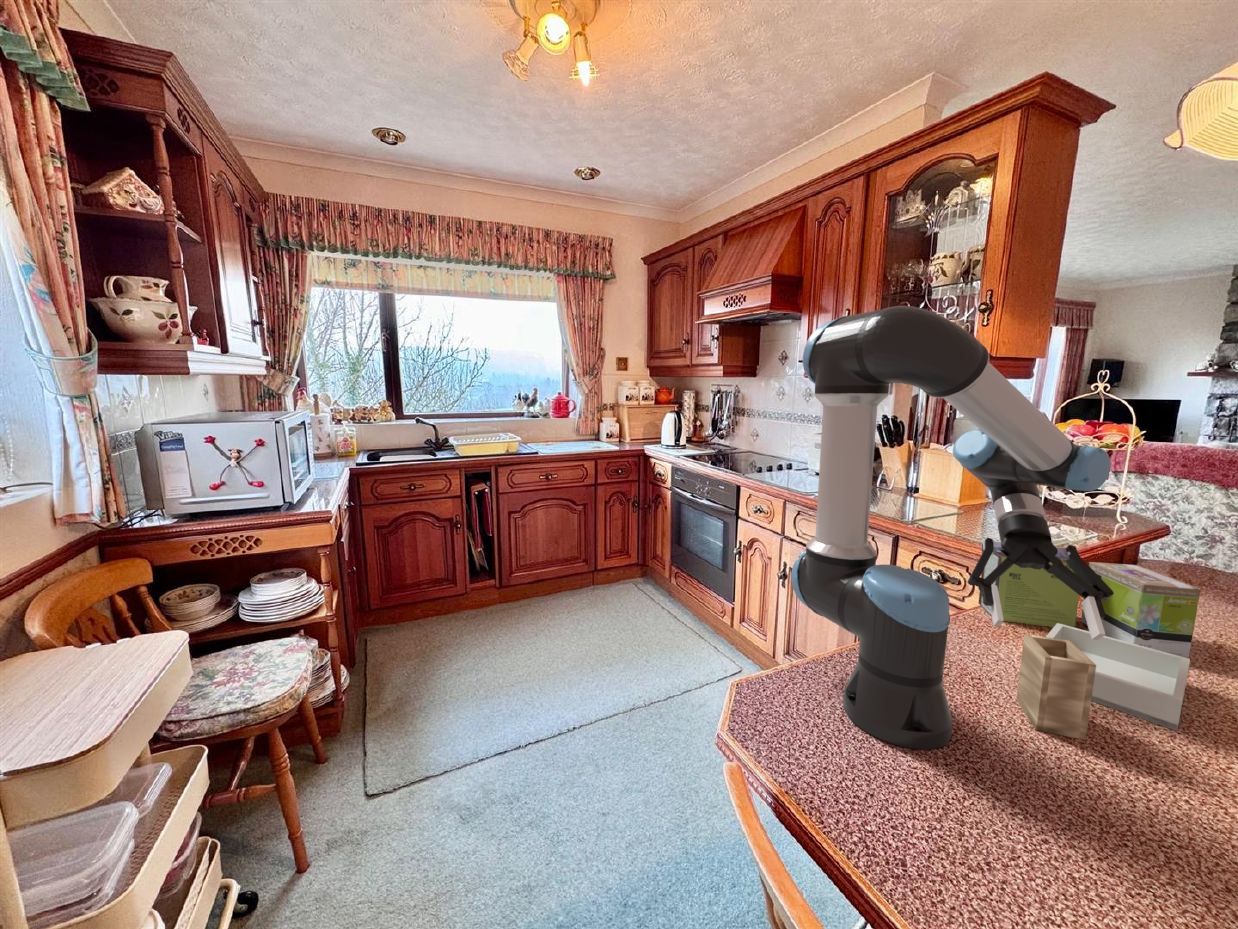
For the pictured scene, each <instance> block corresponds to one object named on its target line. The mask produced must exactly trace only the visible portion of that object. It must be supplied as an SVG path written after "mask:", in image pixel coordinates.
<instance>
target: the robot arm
mask: <svg viewBox="0 0 1238 929" xmlns="http://www.w3.org/2000/svg"><path fill="white" fill-rule="evenodd" d="M802 367H803V370H804V374H806V375H807V378H808V380H809V381H810V382H811V383H813V384H814V397H815V398H816V399H817V400H818V401H819V402H820V403H821V405H822V417H821V418H822V420H821V421H822V422H821V435H820V436H821V437H820V452H819V453H820V455H819V471H818V472H819V474H818V487H817V488H818V489H817V491H818V492H817V504H816V506H817V507H816V522H815V535H814V536H813V537H812V538H811V539H810V540H808V541H807V542H806V544H805V546H806V548H805V549H804V550H803V551H802V552H800V553H799V555H798V556H797V557H798V559H797V560H794V563H793V566H792V568H791V574H790V575H791V576H790V577H791V579H790V580H791V586H792V589H793V591H794V594H795V595H796V597H797V599H798V600H799V601H800V602H801V604H803V605H805V606H806V607H807V608H808V609H810V610H811V611H812V612H813V613H815V615H818V616H821V617H823V618H825V619H826V620H829V621H830V622H832V623H834V624H836V625H837V626H839V627H840V628H843V629H844V630H846V631H848V632H849V633H851V634H852V635H854V636H856V637H858V638H859V643H858V644H859V645H858V659H857V663H856V665H855V667H854V669H853V672H852V673H851V675H850V677H849V680H848V682H847V684H846V685H845V688H844V690H843V700H842V701H843V702H842V705H843V709H844V712H845V713H846V716H848V719H850V720H851V722H853V723H854V724H855V725H856V726H858V727H859V728H860V729H862V730H863V732H866V733H867V734H870V735H871V736H873V737H875V738H877V739H879V740H882V741H884V742H887V743H889V744H892V745H896V746H898V747H903V748H908V749H916V750H933V749H937V748H941V747H943V746H945V745H947V744H948V743H949V742H950V740H951V738H952V732H953V722H954V721H953V717H952V713H951V708H950V707H949V706H950V705H949V703H948V699H947V695H946V692H945V687H944V685H943V684H944V683H943V680H944V670H945V661H946V652H947V651H946V650H947V643H948V642H947V641H948V633H949V632H948V631H949V626H950V623H951V614H950V598H949V595H948V592H947V590H946V589H945V588H944V586H943V585H942V584H940V583H939V582H938V581H937V580H935V579H934V578H933V577H931V576H929V575H926V574H924V573H922V572H921V571H917V570H914V569H912V568H909V567H908V568H903V567H902V566H899V565H894V564H876V563H877V550H876V549H875V548H874V546H872V545H871V544H870V542H869V528H870V515H871V514H870V512H871V500H872V487H873V485H872V484H873V472H874V471H873V470H874V459H875V447H876V446H875V445H876V444H875V443H876V429H877V419H878V418H877V416H878V415H877V414H878V406H879V405H880V404H881V403H882V402H883V401H884V400H885V399H887V398H888V397H889V393H890V392H889V391H890V384H902V385H903V384H904V385H909V386H912V387H915V388H918V389H920V390H921V391H922V392H923V393H925V394H926V395H928V396H929V397H932V398H936V399H943V400H944V401H946V402H947V403H948V404H949V405H950V406H952V407H953V408H954V409H955V410H956V411H958V413H960V414H961V415H962V416H963V417H965V419H967V420H968V421H969V422H970V423H971V424H972V425H974V426H975V427H977V429H972V430H969V431H967V432H964V433H963V434H961V435H960V436H959V437H958V438H957V439H956V441H955V443H954V444H953V446H952V454H953V456H954V458H955V459H956V460H957V461H958V463H959V464H960V465H961V467H962V468H964V469H965V470H966V471H967V472H969V473H970V474H972V475H973V476H974V477H975V478H976V479H978V481H979V482H981V483H982V485H984V486H985V487H987V489H988V490H989V492H990V495H991V500H992V504H993V509H994V510H993V511H994V515H995V518H996V524H997V530H998V534H999V538H1000V539H999V540H1000V542H999V541H994V540H993V538H992V537H987V538H985V539H984V542H983V543H982V545H981V555H980V557H979V559H978V561H977V563H976V565H975V566H974V568H973V570H972V572H971V574H970V576H969V578H968V579H967V584H968V585H969V586H974V587H977V588H978V590H979V592H980V591H981V592H982V598H983V603H984V604H985V605H987V606H990V609H991V615H992V617H991V620H992V624H993V626H994V627H999V626H1000V625H1001V624H1002V623H1003V622H1005V621H1004V620H1003V614H1002V609H1001V604H1000V598H999V593H998V588H997V586H995V585H992V584H993V583H994V582H995V581H996V580H997V579H998V578H999V577H1000V576H1001V575H1002V574H1003V573H1005V572H1006V571H1007V570H1008V569H1009V568H1010V567H1011V566H1012V565H1013V564H1016V565H1017V566H1019V567H1020V568H1033V569H1039V570H1040V569H1041V568H1043V569H1044V570H1046V571H1047V572H1048V573H1050V574H1053V575H1055V576H1056V577H1057V578H1058V579H1060V580H1061V581H1062V582H1063V583H1065V584H1066V585H1067V586H1068V587H1070V588H1071V589H1072V590H1074V591H1075V592H1076V593H1077V594H1079V597H1081V598H1082V599H1083V600H1082V601H1081V602H1080V603H1081V604H1080V605H1081V607H1082V610H1083V611H1084V614H1085V618H1086V621H1087V625H1086V626H1087V627H1088V631H1089V632H1090V635H1091V638H1092V640H1099V639H1100V638H1101V637H1103V636H1104V635H1106V634H1105V631H1104V628H1103V624H1102V621H1101V620H1102V619H1103V618H1104V617H1105V615H1106V614H1105V611H1104V608H1103V605H1102V601H1106V600H1107V599H1108V598H1110V597H1111V596H1112V595H1113V594H1114V592H1113V591H1112V590H1111V589H1110V588H1109V587H1108V585H1107V584H1106V583H1105V582H1104V581H1103V580H1102V579H1101V578H1100V577H1099V576H1098V575H1097V574H1096V573H1095V572H1094V571H1093V570H1092V569H1091V568H1090V566H1089V563H1087V562H1086V561H1085V560H1084V559H1083V558H1082V557H1081V556H1080V553H1079V551H1078V548H1076V546H1075V545H1073V544H1070V545H1068V546H1066V547H1056V546H1055V544H1054V543H1053V540H1052V534H1051V530H1050V528H1049V524H1048V521H1047V515H1046V512H1045V509H1044V506H1043V502H1042V500H1041V495H1040V492H1039V488H1038V486H1045V487H1050V488H1058V489H1064V490H1066V491H1071V490H1074V491H1083V492H1092V491H1095V490H1098V489H1100V488H1101V487H1102V486H1103V485H1104V484H1105V482H1106V480H1107V478H1108V477H1109V474H1110V470H1111V460H1110V456H1109V454H1108V452H1107V451H1106V450H1104V449H1103V448H1102V447H1101V448H1100V447H1097V446H1090V445H1087V444H1083V445H1079V444H1075V443H1074V442H1073V441H1072V440H1071V439H1070V438H1069V437H1068V436H1067V435H1066V434H1065V433H1063V432H1062V430H1061V429H1060V428H1058V427H1057V426H1056V425H1055V424H1054V423H1053V422H1052V421H1051V420H1050V419H1049V417H1047V416H1046V415H1045V414H1044V413H1042V411H1041V410H1039V409H1038V408H1037V406H1036V405H1034V404H1033V403H1032V402H1031V401H1030V400H1029V399H1028V398H1027V397H1026V396H1025V395H1024V394H1023V393H1022V392H1021V391H1020V390H1018V388H1017V387H1016V386H1015V385H1014V384H1012V383H1011V382H1010V381H1009V379H1007V378H1006V377H1005V376H1004V375H1003V374H1002V373H1001V372H1000V371H999V370H998V369H997V368H995V366H994V365H993V364H992V363H990V352H989V350H988V349H987V347H985V345H984V344H983V343H982V342H981V341H980V340H978V339H977V338H976V337H974V335H972V334H971V333H970V331H967V330H966V329H965V328H963V327H962V326H960V325H958V324H957V323H955V322H954V321H952V320H950V319H948V318H946V317H944V316H943V315H940V314H938V313H936V312H934V311H931V310H927V309H924V308H921V307H916V306H912V305H909V306H908V305H897V306H890V307H889V306H888V307H885V308H883V309H878V310H871V311H866V312H862V313H861V312H860V313H857V314H856V313H855V314H851V315H850V314H849V315H843V316H840V317H837V318H835V319H833V320H830V321H827V322H825V323H822V324H821V325H819V326H818V327H817V328H816V329H815V330H814V331H813V332H812V333H811V334H810V336H809V337H808V339H807V341H806V343H805V346H804V348H803V353H802ZM998 549H1000V551H1001V552H1002V553H1003V554H1004V555H1005V556H1006V557H1007V558H1006V559H1005V560H1004V561H1003V562H1002V563H1001V564H1000V565H999V566H998V567H997V568H995V569H994V570H993V571H992V572H991V573H990V574H989V575H988V576H987V577H986V578H985V579H983V578H981V575H982V572H983V570H984V568H985V566H986V564H987V562H988V560H989V558H990V556H991V554H992V553H995V552H996V551H997V550H998ZM1055 555H1059V556H1060V557H1061V559H1062V560H1065V561H1066V563H1067V565H1068V566H1069V567H1070V568H1071V569H1072V570H1073V571H1074V572H1075V573H1076V574H1075V573H1074V572H1072V571H1071V570H1070V569H1069V568H1067V567H1066V566H1065V565H1063V562H1062V561H1061V560H1060V559H1058V558H1057V557H1056V556H1055ZM1050 562H1051V563H1052V566H1051V565H1050V564H1049V563H1050ZM991 585H992V586H991ZM1084 599H1085V600H1084Z"/></svg>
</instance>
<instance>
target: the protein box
mask: <svg viewBox="0 0 1238 929" xmlns="http://www.w3.org/2000/svg"><path fill="white" fill-rule="evenodd" d="M1055 556H1056V557H1057V558H1058V559H1060V560H1061V561H1062V562H1063V565H1065V566H1066V567H1067V568H1069V569H1070V570H1071V571H1072V572H1074V571H1073V570H1072V569H1071V568H1070V567H1069V566H1068V565H1067V563H1066V561H1065V560H1062V559H1061V557H1060V556H1059V555H1055ZM1006 558H1007V557H1006V556H1005V555H1004V554H1003V553H1002V552H1001V551H1000V549H998V550H997V551H996V552H995V553H992V554H991V556H990V558H989V560H988V562H987V564H986V566H985V568H984V570H983V572H982V574H981V576H980V577H981V578H983V579H985V578H986V577H987V576H988V575H989V574H990V573H991V572H992V571H993V570H994V569H995V568H997V567H998V566H999V565H1000V564H1001V563H1002V562H1003V561H1004V560H1005V559H1006ZM1049 564H1050V565H1051V566H1052V563H1051V562H1050V563H1049ZM1074 573H1075V572H1074ZM1075 574H1076V573H1075ZM992 585H995V586H997V588H998V593H999V598H1000V604H1001V609H1002V614H1003V620H1004V621H1003V622H1006V623H1007V622H1008V623H1015V622H1017V623H1016V624H1023V623H1025V624H1026V625H1032V626H1041V627H1047V626H1049V628H1054V626H1055V625H1056V624H1057V623H1059V624H1063V625H1066V626H1070V627H1074V628H1076V623H1077V622H1076V621H1077V616H1078V614H1077V613H1078V606H1079V600H1080V595H1079V594H1077V593H1076V592H1075V591H1074V590H1072V589H1071V588H1070V587H1068V586H1067V585H1066V584H1065V583H1063V582H1062V581H1061V580H1060V579H1058V578H1057V577H1056V576H1055V575H1053V574H1050V573H1048V572H1047V571H1046V570H1044V569H1043V568H1041V569H1040V570H1039V569H1033V568H1020V567H1019V566H1017V565H1016V564H1013V565H1012V566H1011V567H1010V568H1009V569H1008V570H1007V571H1006V572H1005V573H1003V574H1002V575H1001V576H1000V577H999V578H998V579H997V580H996V581H995V582H994V583H993V584H992ZM992 585H991V586H992ZM978 604H979V606H981V608H982V609H984V611H985V612H986V613H987V614H988V615H989V616H990V617H991V618H992V615H991V609H990V606H987V605H985V604H984V603H983V598H982V592H981V591H980V590H979V594H978ZM1025 624H1024V625H1025Z"/></svg>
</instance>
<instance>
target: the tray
mask: <svg viewBox="0 0 1238 929" xmlns="http://www.w3.org/2000/svg"><path fill="white" fill-rule="evenodd" d="M1045 637H1049V638H1056V639H1063V640H1069V641H1071V642H1072V643H1073V644H1074V645H1075V646H1076V647H1077V648H1078V649H1079V650H1081V651H1082V652H1083V653H1084V654H1085V655H1086V656H1087V657H1088V658H1089V659H1090V660H1091V661H1092V662H1093V663H1095V664H1096V671H1095V678H1094V685H1093V692H1092V699H1091V702H1093V703H1096V704H1099V705H1102V706H1105V707H1107V708H1110V709H1113V710H1116V711H1119V712H1121V713H1124V714H1128V715H1130V716H1133V717H1136V718H1138V719H1142V720H1144V721H1147V722H1151V723H1153V724H1156V725H1158V726H1161V727H1163V728H1167V729H1169V730H1173V731H1176V732H1178V730H1179V723H1180V718H1181V711H1182V707H1183V704H1184V703H1183V701H1184V697H1185V691H1186V687H1187V679H1188V675H1189V669H1190V662H1191V658H1189V657H1188V658H1185V657H1181V656H1177V655H1174V654H1170V653H1166V652H1162V651H1159V650H1155V649H1151V648H1148V647H1144V646H1140V645H1137V644H1133V643H1129V642H1126V641H1122V640H1118V639H1114V638H1111V637H1107V636H1103V637H1101V638H1100V639H1099V640H1092V638H1091V635H1090V632H1089V630H1085V629H1080V628H1078V627H1075V628H1074V627H1070V626H1066V625H1063V624H1059V623H1057V624H1056V625H1055V626H1054V627H1052V628H1051V630H1050V631H1049V632H1048V633H1047V635H1046V636H1045Z"/></svg>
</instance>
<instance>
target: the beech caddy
mask: <svg viewBox="0 0 1238 929" xmlns="http://www.w3.org/2000/svg"><path fill="white" fill-rule="evenodd" d="M1022 643H1023V644H1022V651H1021V658H1020V666H1019V667H1020V668H1019V676H1018V683H1017V684H1018V685H1017V692H1016V699H1015V700H1017V701H1016V703H1017V702H1018V703H1017V704H1018V705H1019V707H1020V708H1021V710H1022V711H1023V713H1024V714H1025V716H1026V717H1027V719H1028V720H1029V722H1030V723H1031V725H1032V727H1033V728H1034V729H1035V731H1038V732H1044V733H1048V734H1049V733H1050V734H1055V735H1059V736H1064V737H1070V738H1073V739H1079V740H1084V741H1086V740H1087V733H1088V726H1089V719H1090V713H1091V712H1090V711H1091V705H1092V701H1091V699H1092V692H1093V685H1094V678H1095V671H1096V664H1095V663H1093V662H1092V661H1091V660H1090V659H1089V658H1088V657H1087V656H1086V655H1085V654H1084V653H1083V652H1082V651H1081V650H1079V649H1078V648H1077V647H1076V646H1075V645H1074V644H1073V643H1072V642H1071V641H1069V640H1063V639H1056V638H1049V637H1046V636H1041V635H1035V634H1025V633H1024V634H1023V642H1022Z"/></svg>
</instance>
